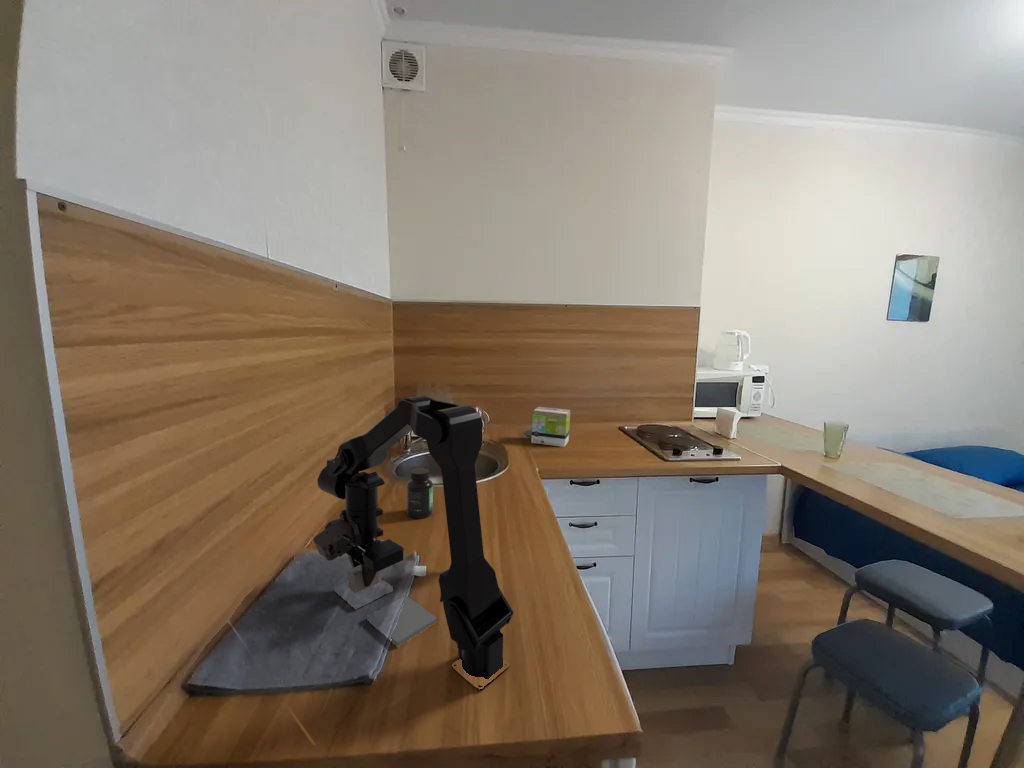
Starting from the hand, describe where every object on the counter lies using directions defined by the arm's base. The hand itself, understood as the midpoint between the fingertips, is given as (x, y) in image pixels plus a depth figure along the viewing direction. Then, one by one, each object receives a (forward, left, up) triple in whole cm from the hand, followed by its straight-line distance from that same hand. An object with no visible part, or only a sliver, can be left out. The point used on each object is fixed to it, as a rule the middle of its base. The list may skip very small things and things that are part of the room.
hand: (363, 582), depth 84 cm
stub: (0, 0, -2) cm, 2 cm away
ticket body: (-12, 0, -2) cm, 13 cm away
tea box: (+39, -111, -2) cm, 118 cm away
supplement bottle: (+21, -28, -2) cm, 35 cm away
